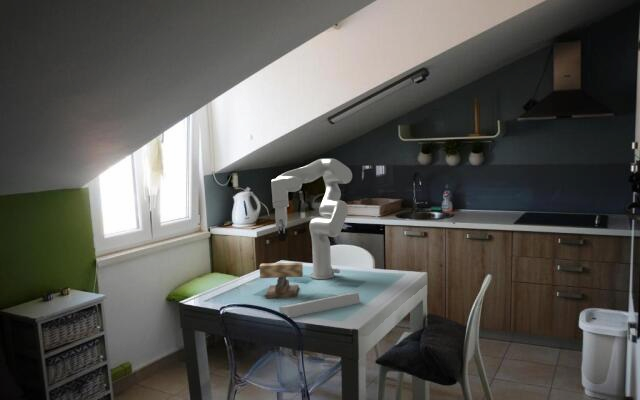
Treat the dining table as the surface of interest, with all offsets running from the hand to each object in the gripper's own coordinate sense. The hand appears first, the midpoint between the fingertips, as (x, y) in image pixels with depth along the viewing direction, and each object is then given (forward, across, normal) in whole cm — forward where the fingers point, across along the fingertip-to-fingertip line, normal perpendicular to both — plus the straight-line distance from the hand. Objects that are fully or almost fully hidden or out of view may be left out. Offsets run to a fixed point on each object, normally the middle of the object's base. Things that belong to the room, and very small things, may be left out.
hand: (283, 238), depth 251 cm
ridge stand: (+25, +6, -2) cm, 26 cm away
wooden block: (+17, +6, -2) cm, 18 cm away
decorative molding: (+26, +29, +17) cm, 42 cm away
